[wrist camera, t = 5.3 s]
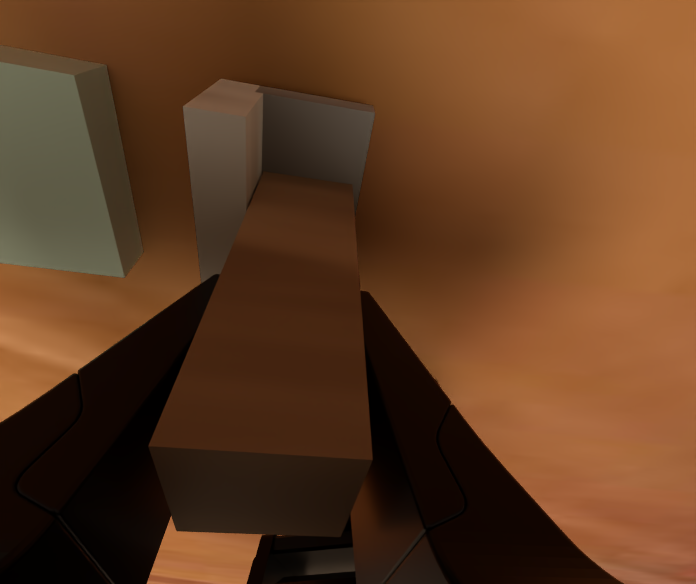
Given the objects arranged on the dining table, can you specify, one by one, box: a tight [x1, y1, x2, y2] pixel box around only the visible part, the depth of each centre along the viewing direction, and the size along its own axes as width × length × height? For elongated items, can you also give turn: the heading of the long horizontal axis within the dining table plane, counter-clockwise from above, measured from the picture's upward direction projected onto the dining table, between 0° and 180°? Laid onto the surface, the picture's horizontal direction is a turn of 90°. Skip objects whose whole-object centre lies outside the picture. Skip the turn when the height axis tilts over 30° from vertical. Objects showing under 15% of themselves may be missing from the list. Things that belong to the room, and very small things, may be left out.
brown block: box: [148, 79, 375, 537], centre depth 8 cm, size 6×4×9 cm, turn 171°
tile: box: [0, 45, 144, 278], centre depth 11 cm, size 6×6×2 cm
